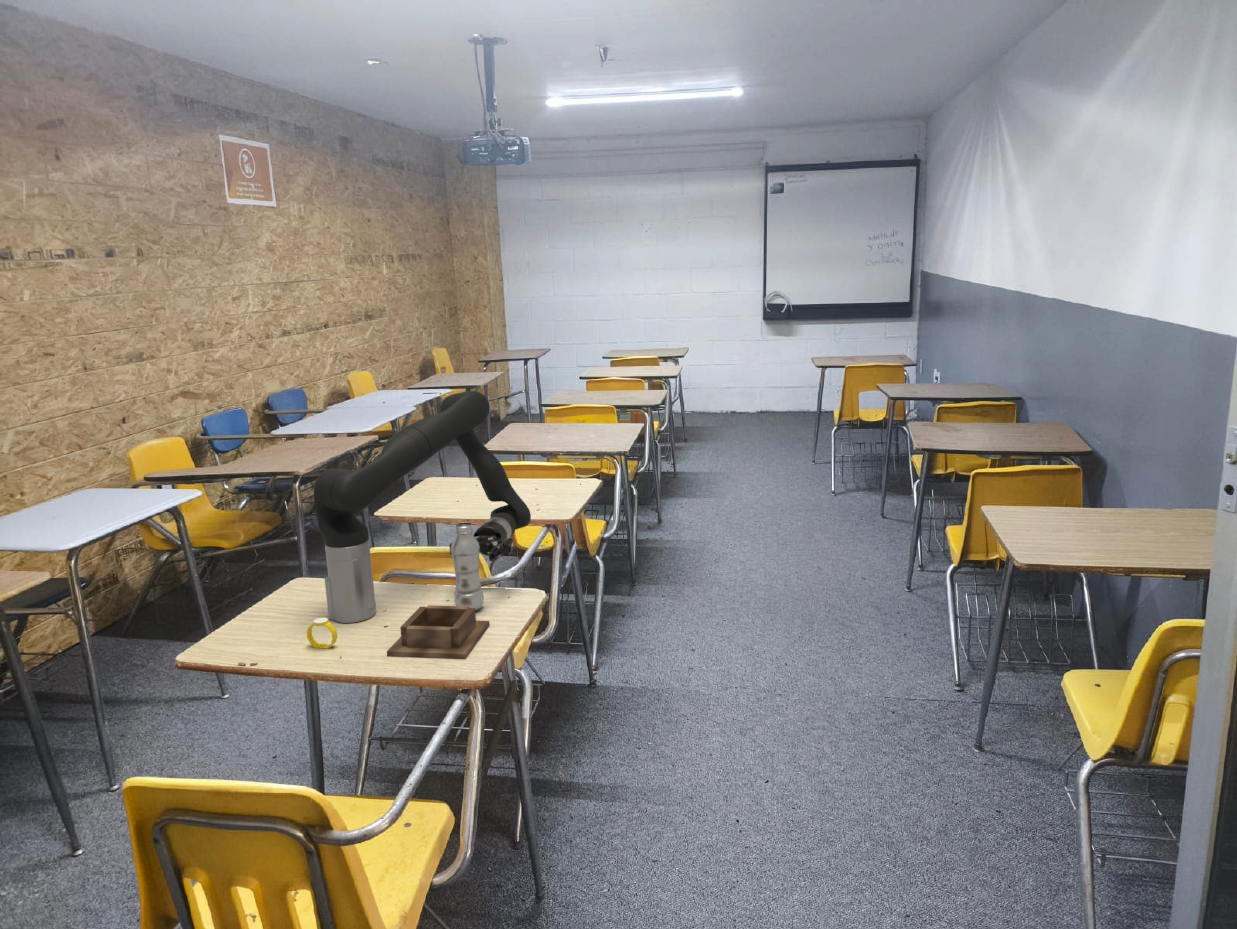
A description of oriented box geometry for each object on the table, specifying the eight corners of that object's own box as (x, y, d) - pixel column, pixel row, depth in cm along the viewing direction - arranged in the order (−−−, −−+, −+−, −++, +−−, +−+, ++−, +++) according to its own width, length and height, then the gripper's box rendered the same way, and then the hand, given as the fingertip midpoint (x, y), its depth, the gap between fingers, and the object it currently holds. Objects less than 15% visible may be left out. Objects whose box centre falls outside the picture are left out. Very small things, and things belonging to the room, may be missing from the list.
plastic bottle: (487, 604, 180) (482, 520, 176) (479, 616, 174) (473, 528, 170) (460, 603, 181) (454, 520, 177) (451, 615, 175) (444, 528, 170)
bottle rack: (387, 656, 156) (384, 632, 154) (418, 623, 171) (416, 601, 170) (465, 659, 153) (463, 635, 152) (489, 625, 169) (488, 603, 168)
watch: (339, 646, 161) (338, 619, 160) (332, 652, 159) (331, 624, 157) (312, 642, 162) (311, 615, 161) (305, 648, 160) (304, 621, 158)
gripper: (464, 520, 195) (441, 540, 180) (520, 521, 193) (501, 541, 178) (466, 549, 197) (443, 571, 181) (521, 550, 195) (503, 573, 179)
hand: (472, 556), depth 179 cm, fingers open, 8 cm apart
